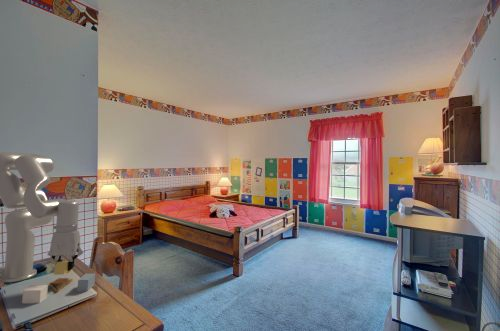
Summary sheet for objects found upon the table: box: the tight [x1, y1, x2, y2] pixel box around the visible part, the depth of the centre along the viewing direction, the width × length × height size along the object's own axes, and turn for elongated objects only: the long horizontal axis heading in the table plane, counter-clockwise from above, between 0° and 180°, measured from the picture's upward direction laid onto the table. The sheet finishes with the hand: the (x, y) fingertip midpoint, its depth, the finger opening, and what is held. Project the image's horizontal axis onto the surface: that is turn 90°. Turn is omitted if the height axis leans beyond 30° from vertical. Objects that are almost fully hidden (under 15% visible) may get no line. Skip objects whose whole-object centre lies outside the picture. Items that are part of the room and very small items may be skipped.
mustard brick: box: [53, 260, 73, 276], centre depth 104 cm, size 6×4×5 cm, turn 9°
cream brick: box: [21, 284, 49, 304], centre depth 92 cm, size 6×4×5 cm, turn 99°
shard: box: [48, 277, 74, 293], centre depth 103 cm, size 11×8×2 cm
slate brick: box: [76, 273, 96, 293], centre depth 103 cm, size 6×4×5 cm, turn 9°
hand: (64, 269), depth 104 cm, fingers closed on mustard brick, 4 cm apart
